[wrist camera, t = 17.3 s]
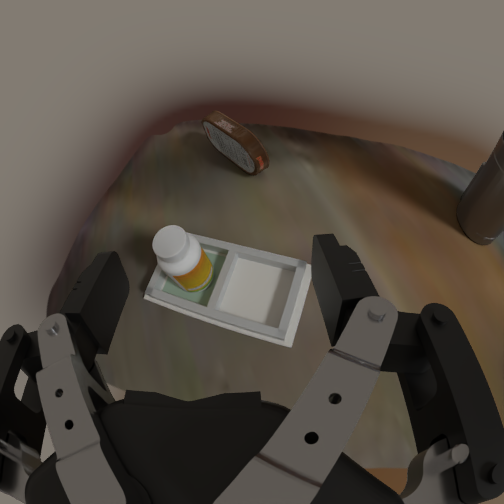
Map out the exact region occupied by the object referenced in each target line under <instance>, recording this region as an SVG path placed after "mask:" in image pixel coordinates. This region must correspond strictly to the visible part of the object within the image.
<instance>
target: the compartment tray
mask: <svg viewBox="0 0 504 504" xmlns="http://www.w3.org/2000/svg"><path fill="white" fill-rule="evenodd" d="M190 234H191V233H190ZM192 235H193V236H194V237H195V238H196V239H197V240H198V242H199V243H200V245H201V247H202V248H203V250H204V252H205V253H206V255H207V256H208V258H209V260H210V261H211V263H212V265H213V268H214V277H213V280H212V282H211V284H210V285H209V286H208V287H207V288H206V289H205V290H203V291H201V292H198V293H189V292H186V291H184V290H183V289H181V288H180V287H179V286H178V285H177V284H176V283H175V282H174V281H173V280H172V279H171V278H170V277H169V276H168V275H167V274H166V273H165V272H164V271H163V270H162V269H161V268H160V266H159V264H157V266H156V269H155V271H154V273H153V275H152V278H151V280H150V282H149V284H148V287H147V289H146V291H145V296H144V299H146V300H148V301H151V302H153V303H156V304H158V305H161V306H163V307H166V308H169V309H171V310H174V311H177V312H179V313H182V314H185V315H188V316H190V317H193V318H196V319H199V320H202V321H205V322H208V323H210V324H213V325H216V326H219V327H222V328H225V329H228V330H232V331H235V332H238V333H241V334H244V335H247V336H251V337H254V338H257V339H261V340H264V341H267V342H271V343H274V344H278V345H281V346H285V347H289V348H291V347H292V344H293V340H294V337H295V334H296V330H297V327H298V324H299V320H300V317H301V313H302V310H303V306H304V303H305V299H306V295H307V292H308V288H309V284H310V280H311V277H312V275H311V265H310V264H306V263H307V261H303V260H298V259H294V258H290V257H286V256H282V255H278V254H274V253H270V252H265V251H261V250H257V249H253V248H249V247H245V246H241V245H237V244H232V243H228V242H224V241H220V240H216V239H212V238H207V237H203V236H199V235H195V234H192Z"/></svg>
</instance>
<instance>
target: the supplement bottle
mask: <svg viewBox="0 0 504 504" xmlns="http://www.w3.org/2000/svg"><path fill="white" fill-rule="evenodd" d="M152 247H153V250H154V252H155V254H156V255H157V262H158V264H159V266H160V268H161V269H162V270H163V271H164V272H165V273H166V274H167V275H168V276H169V277H170V278H171V279H172V280H173V281H174V282H175V283H176V284H177V285H178V286H179V287H180V288H181V289H183V290H184V291H186V292H189V293H198V292H201V291H203V290H205V289H206V288H207V287H208V286H209V285H210V284H211V282H212V280H213V277H214V268H213V265H212V263H211V261H210V260H209V258H208V256H207V255H206V253H205V252H204V250H203V248H202V247H201V245H200V243H199V242H198V240H197V239H196V238H195V237H194V236H193V235H192V234H190V233H187V232H185V231H184V230H183V229H182V228H181V227H179V226H176V225H170V226H166V227H164V228H162V229H161V230H160V231H158V233H157V234H156V235H155V237H154V239H153V243H152Z"/></svg>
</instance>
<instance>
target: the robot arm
mask: <svg viewBox="0 0 504 504" xmlns="http://www.w3.org/2000/svg"><path fill="white" fill-rule="evenodd" d="M457 218H458V221H459V224H460V226H461V228H462V229H463V231H464V232H465V233H466V235H467V236H468V237H469V238H470V239H471V240H473V241H474V242H476V243H478V244H481V245H488V244H490V243H491V242H492V241H493V240H494V239H495V238H496V237H498V236H499V235H500V234H501V233H502V232H503V231H504V131H503V133H502V135H501V137H500V139H499V141H498V143H497V144H496V147H495V148H494V150H493V152H492V153H491V155H490V157H489V159H488V160H487V162H484V163H482V165H481V167H480V168H479V170H478V171H477V173H476V175H475V176H474V178H473V179H472V181H471V182H470V184H469V185H468V187H467V188H466V190H465V191H464V193H463V194H462V196H461V201H460V203H459V204H458V207H457ZM311 275H312V281H313V285H314V288H315V291H316V295H317V298H318V301H319V305H320V308H321V311H322V315H323V318H324V322H325V325H326V329H327V332H328V336H329V339H330V343H331V347H332V346H335V347H334V348H333V349H330V350H329V351H328V353H327V354H326V356H325V357H324V359H323V361H322V363H321V364H320V366H319V367H318V369H317V371H316V372H315V374H314V376H313V377H312V379H311V380H310V382H309V384H308V385H307V387H306V388H305V390H304V391H303V393H302V394H301V396H300V397H299V399H298V400H297V402H296V403H295V405H294V406H293V408H292V409H291V410H290V409H288V408H286V407H284V406H282V405H279V404H276V403H273V402H269V401H263V400H261V394H260V392H245V393H224V394H220V395H216V396H212V397H208V398H203V399H199V400H195V401H183V400H180V399H176V398H173V397H169V396H166V395H162V394H159V393H156V392H143V391H132V390H126V394H125V398H124V399H122V400H119V401H115V399H114V398H113V396H112V394H111V392H110V390H109V388H108V386H107V383H106V381H105V379H104V376H103V374H102V372H101V369H100V367H99V364H98V362H97V361H96V360H95V357H96V354H108V351H109V347H110V344H111V341H112V338H113V335H114V332H115V330H116V327H117V324H118V321H119V318H120V316H121V313H122V310H123V307H124V305H125V302H126V299H127V297H128V294H129V281H128V278H127V276H126V273H125V271H124V268H123V266H122V263H121V261H120V258H119V256H118V254H117V253H116V252H115V251H113V252H102V253H98V254H97V256H96V258H95V259H94V261H93V262H92V264H91V265H90V266H89V267H88V268H87V269H86V270H84V271H83V272H82V274H81V275H80V277H79V279H78V280H77V283H76V284H75V286H74V287H73V290H72V291H71V293H70V294H69V296H68V298H67V300H66V302H65V304H64V305H63V307H62V309H61V311H60V313H59V314H53V315H50V316H49V317H47V318H46V319H45V320H44V321H43V322H42V323H41V324H40V326H39V328H38V331H34V332H30V333H27V332H26V331H25V329H24V328H23V327H22V326H21V325H19V324H17V325H13V326H11V327H10V328H8V329H7V330H6V332H5V333H4V334H3V336H2V338H1V341H0V491H1V492H3V493H5V494H8V495H10V496H12V497H14V498H15V499H17V500H19V501H21V502H23V503H25V504H478V503H481V502H484V501H487V500H491V499H493V498H496V497H498V496H499V495H501V494H502V493H503V492H504V428H503V425H502V422H501V418H500V415H499V412H498V410H497V407H496V404H495V401H494V398H493V396H492V393H491V391H490V388H489V385H488V383H487V381H486V378H485V376H484V373H483V371H482V369H481V366H480V364H479V362H478V360H477V358H476V355H475V353H474V351H473V349H472V347H471V345H470V343H469V341H468V339H467V337H466V335H465V333H464V331H463V329H462V327H461V325H460V324H459V322H458V320H457V318H456V316H455V315H454V313H453V312H452V311H451V310H450V309H449V308H448V307H446V306H444V305H442V304H438V303H431V304H428V305H426V306H425V307H424V308H423V309H422V311H421V313H420V314H415V313H405V312H399V311H397V309H396V308H395V306H394V305H393V304H392V303H391V302H390V301H388V300H386V299H384V298H382V297H379V295H378V293H377V291H376V289H375V287H374V285H373V283H372V281H371V279H370V277H369V275H368V274H367V272H366V271H365V268H364V266H363V264H362V263H361V261H360V259H359V257H358V255H357V253H356V252H355V251H353V250H352V249H351V248H350V247H348V246H347V245H345V246H340V245H339V243H338V241H337V239H336V238H335V236H334V234H321V235H314V237H313V248H312V262H311ZM20 369H21V370H22V371H23V372H24V373H25V374H26V375H27V376H28V380H27V383H26V386H25V389H24V393H23V396H22V399H21V401H20V400H19V399H17V397H16V396H15V393H14V386H15V382H16V380H17V377H18V374H19V371H20ZM380 371H386V372H397V374H398V378H399V381H400V384H401V388H402V391H403V395H404V398H405V402H406V406H407V409H408V413H409V417H410V421H411V425H412V429H413V434H414V438H415V442H416V447H417V452H418V454H417V455H416V456H415V457H414V458H413V459H412V461H411V462H410V464H409V467H408V472H407V484H406V486H405V489H404V490H403V492H402V493H401V494H400V495H398V494H397V493H396V492H395V491H393V490H392V489H391V488H390V487H388V486H387V485H385V484H384V483H383V482H381V481H380V480H378V479H377V478H376V477H374V476H373V475H372V474H370V473H369V472H367V471H366V470H365V469H364V468H362V467H361V466H360V465H359V464H357V463H356V462H355V461H353V460H352V459H351V458H350V457H348V456H347V455H346V454H345V453H343V452H342V451H343V449H344V447H345V445H346V443H347V442H348V440H349V438H350V436H351V434H352V432H353V430H354V428H355V426H356V425H357V423H358V421H359V419H360V416H361V414H362V412H363V410H364V408H365V406H366V404H367V402H368V400H369V397H370V395H371V393H372V391H373V388H374V386H375V384H376V381H377V379H378V376H379V374H380ZM46 424H47V426H48V430H49V433H50V436H51V439H52V443H53V445H54V448H55V452H54V453H53V454H52V455H51V456H50V457H49V458H47V459H46V460H45V461H44V462H41V459H40V455H41V449H42V444H43V438H44V433H45V428H46Z"/></svg>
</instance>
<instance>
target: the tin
mask: <svg viewBox="0 0 504 504" xmlns="http://www.w3.org/2000/svg"><path fill="white" fill-rule="evenodd" d="M202 125H203V127H204V130H205V132H206V135H207V137H208V139H209V140H210V142H211V143H212V144H213V146H214V147H215V148H216V149H217V150H218V151H219V152H221V153H222V154H223V155H224V156H226V157H227V158H228V159H229V160H231V161H232V162H233V163H234V164H236V165H237V166H238V167H240V168H241V169H242V170H243V171H245V172H246V173H248V174H250V175H257V174H258V173H260V172H261V171H263V170H264V169H266V168H268V166H269V157H268V154H267V152H266V150H265V148H264V146H263V145H262V143H261V142H260V141H259V139H258V138H257V137H256V136H255V135H254V134H253V133H252V132H251V131H250V130H248V129H247V128H245V127H244V126H242V125H240V124H239V123H237V122H235V121H234V120H232V119H231V118H229V117H227V116H226V115H224V114H222V113H220V112H219V111H213V112H212V113H211V114H209V115H208V116H206V117H205V118H203V120H202Z"/></svg>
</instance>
